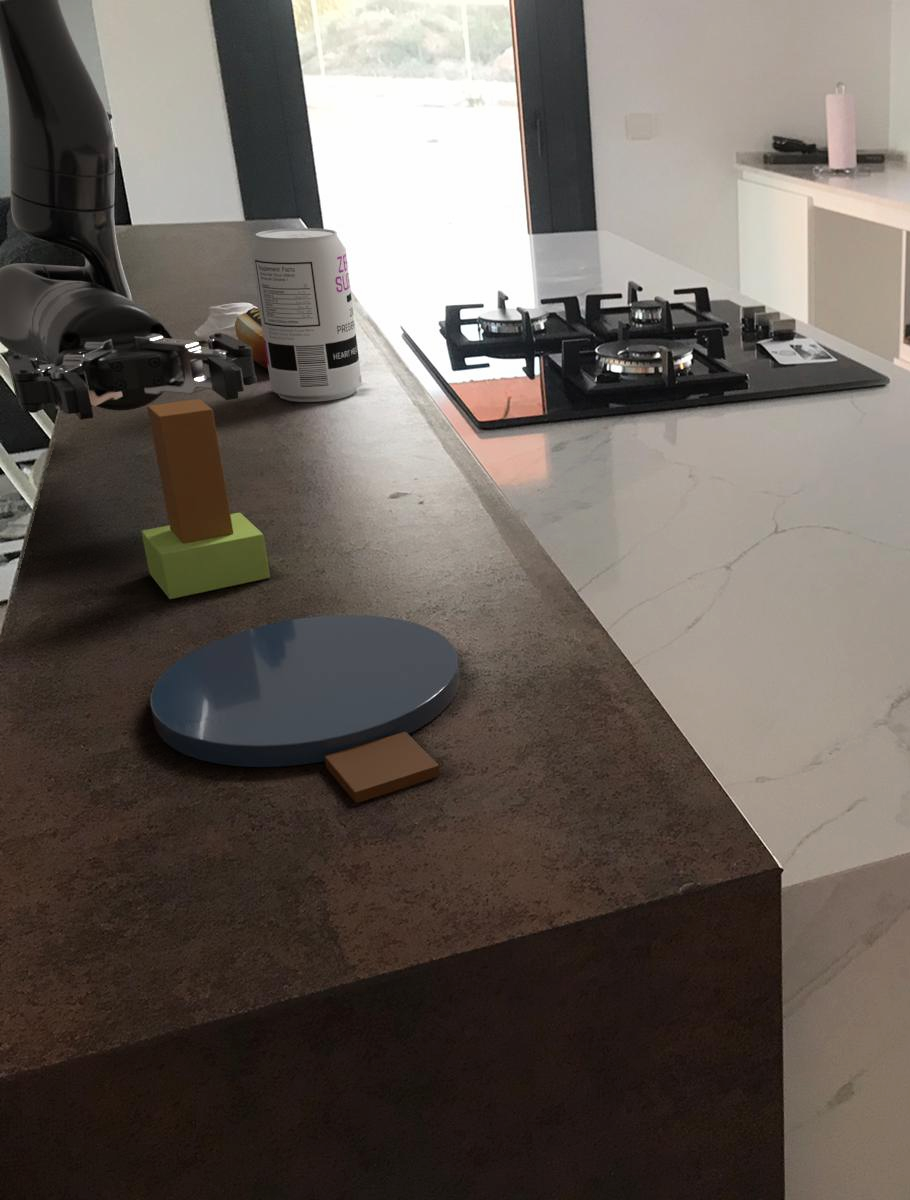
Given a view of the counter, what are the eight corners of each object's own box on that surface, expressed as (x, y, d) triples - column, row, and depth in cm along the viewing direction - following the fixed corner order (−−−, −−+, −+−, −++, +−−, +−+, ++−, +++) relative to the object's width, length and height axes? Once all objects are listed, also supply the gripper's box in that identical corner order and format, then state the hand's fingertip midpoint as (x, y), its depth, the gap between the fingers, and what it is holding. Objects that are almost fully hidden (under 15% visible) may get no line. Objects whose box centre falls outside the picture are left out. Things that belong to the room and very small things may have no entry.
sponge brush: (169, 600, 78) (135, 424, 73) (149, 574, 81) (115, 405, 77) (270, 578, 81) (243, 409, 77) (247, 554, 85) (219, 391, 80)
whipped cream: (194, 357, 141) (182, 313, 138) (203, 338, 146) (192, 296, 144) (270, 349, 142) (260, 306, 140) (276, 331, 148) (266, 289, 146)
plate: (199, 802, 57) (194, 779, 57) (123, 678, 68) (119, 658, 68) (507, 709, 66) (506, 688, 65) (396, 612, 77) (394, 594, 76)
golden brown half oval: (258, 379, 128) (250, 329, 126) (232, 353, 138) (225, 307, 136) (309, 374, 131) (302, 325, 129) (281, 349, 141) (274, 303, 139)
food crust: (356, 807, 58) (354, 792, 57) (325, 770, 60) (323, 755, 60) (440, 779, 60) (439, 765, 60) (407, 745, 63) (405, 730, 62)
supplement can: (260, 390, 124) (235, 231, 118) (343, 379, 129) (323, 225, 123) (290, 408, 118) (266, 241, 112) (376, 395, 123) (357, 234, 117)
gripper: (-22, 303, 86) (17, 346, 75) (201, 284, 94) (268, 321, 83) (4, 411, 89) (45, 470, 78) (218, 384, 97) (284, 433, 86)
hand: (160, 393), depth 80 cm, fingers open, 8 cm apart
